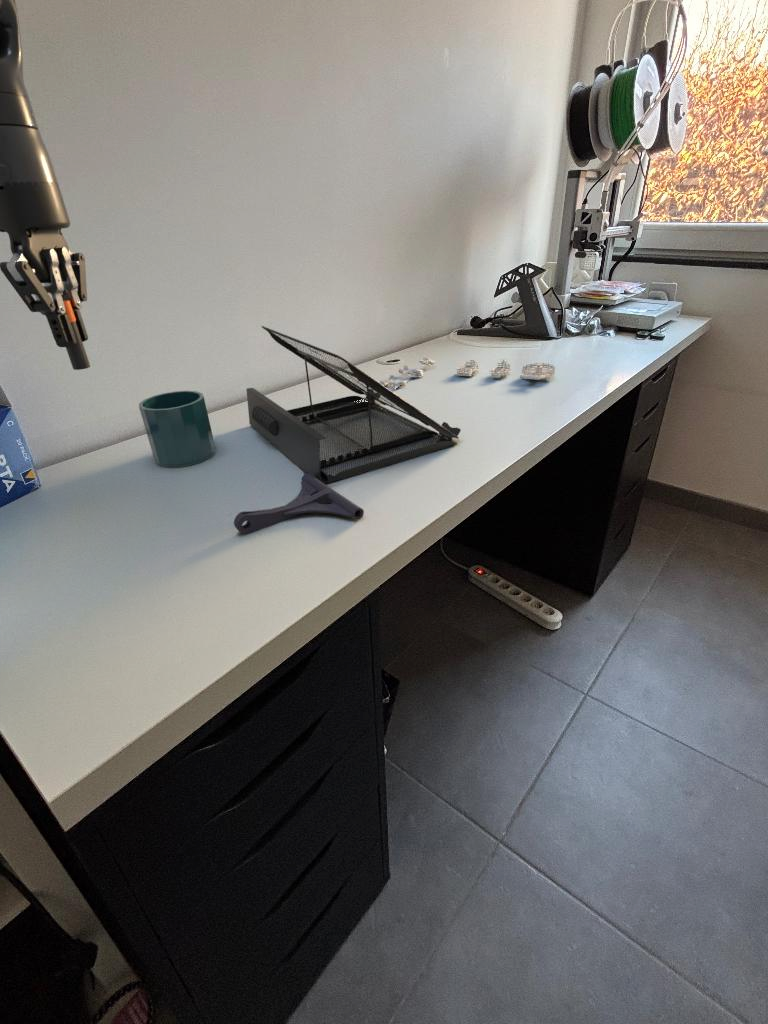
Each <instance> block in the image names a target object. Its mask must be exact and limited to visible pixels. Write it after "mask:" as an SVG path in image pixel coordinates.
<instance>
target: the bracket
mask: <svg viewBox="0 0 768 1024" xmlns="http://www.w3.org/2000/svg"><path fill="white" fill-rule="evenodd" d="M300 484H301V487H300V491H299V493H298V494H297V495H296V497H294V499H292V500H291V501H290V502H288V503H287V504H285V505H281V506H276V507H273V508H267V509H259V510H250V511H249V510H248V511H247V510H246V511H240V512H238V514H237V515H236V516H235V517H234V520H233V525H234V527H235V530H237V531H238V532H239V533H240V534H242V535H246V534H251V533H253V532H256V531H259V530H262V529H265V528H267V527H269V526H272V525H275V524H278V523H280V522H283V521H286V520H288V519H291V518H294V517H297V516H299V515H302V514H306V513H321V514H322V513H324V514H334V515H339V516H342V517H347V518H353V519H354V520H360V519H362V517H363V516H364V513H365V511H364V509H363V508H362V507H360V506H359V505H357V504H356V503H354V502H352V501H351V500H349V499H348V498H347V497H345V496H343V495H342V494H340V493H339V492H338V491H336V490H335V489H333V488H331V487H330V486H329V485H327V484H324V483H322V482H321V481H319V480H318V479H316V478H315V477H313V476H312V475H310V474H308V473H304V474H303V475H302V476H301V482H300ZM245 522H246V523H245ZM244 523H245V524H244Z"/></svg>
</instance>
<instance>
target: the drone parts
mask: <svg viewBox="0 0 768 1024" xmlns="http://www.w3.org/2000/svg"><path fill="white" fill-rule="evenodd" d="M435 361H436V360H431V359H430V358H429V357H423V360H422V359H419V360H418V363H419V364H421V365H425V366H429V367H430V366H435V365H436V363H435ZM479 363H480V362H476V360H475V359H470V360H469V361H465V362H464V363H463V364H460V366H458V367H457V368H456V373H453V374H454V376H463V377H473V375H474V374H476V373H477V374H478V373H479V372H478V370H479V369H480V366H479ZM555 370H556V366H555V365H554V364H550V363H546V362H545V363H544V362H535V363H532V362H531V363H529V364H525V365H523V366H522V368H521V374H519V376H518V377H519V379H525V380H535V381H537V380H539V381H540V380H541V379H545V381H546V382H548V381H549V378H551V377H553V376H554V375H555V373H556V371H555ZM423 371H424V370H423V369H419V368H417V369H415V370H413V371H411V370H410V371H409V366H408V365H404V366H403V369H402V368H399V369H398V373H399V374H401V375H403V374H407V375H408V377H409V378H413V377H414V378H413V379H416V378H419V376H421V377H420V378H422V377H424V373H423ZM510 371H511V363H507V361H506V360H505V359H503V360H500V362H496V364H495V365H494V367H493V369H492V370H490V372H489V374H490V376H489V377H490V378H493V379H494V378H495V379H500V378H501V376H504V377H508V376H510V374H509V372H510ZM477 374H476V375H477ZM388 378H389V379H387V380H386V381H384V380H380V381H379V383H380V384H382V385H383V386H384V387H386V386H387V385H391V384H393V385H392V386H393V390H394V391H396V390H397V389H396V388H398V387H399V388H400V387H401V386H400V385H403V386H402V387H406V386H407V383H408V382H409V380H410V379H406V380H400V381H397V382H396V381H395V375H394V374H390V375H389V377H388ZM394 385H395V386H394ZM399 388H398V389H399Z"/></svg>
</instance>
